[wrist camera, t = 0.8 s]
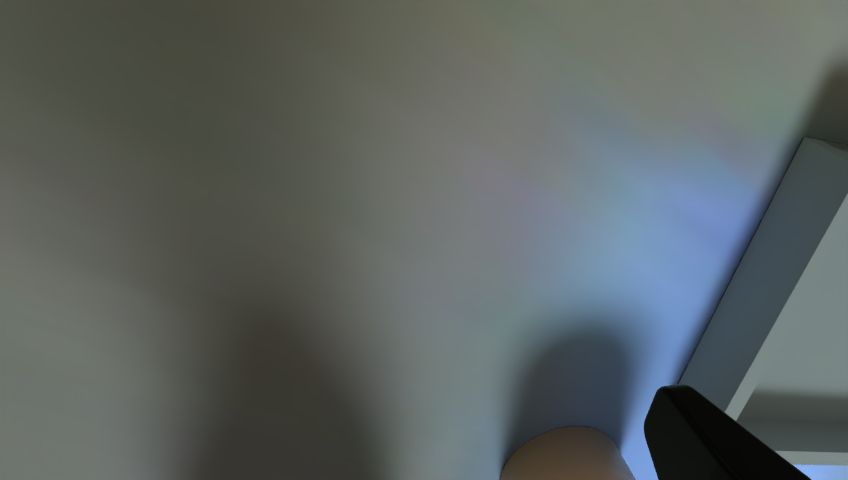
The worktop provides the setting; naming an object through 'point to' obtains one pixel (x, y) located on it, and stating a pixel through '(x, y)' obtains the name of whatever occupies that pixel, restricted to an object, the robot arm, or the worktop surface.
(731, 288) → the tray
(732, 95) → the worktop surface
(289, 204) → the worktop surface
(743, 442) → the robot arm
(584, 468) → the terracotta cup
